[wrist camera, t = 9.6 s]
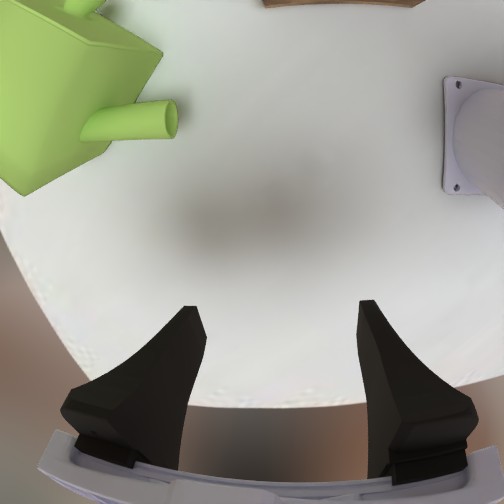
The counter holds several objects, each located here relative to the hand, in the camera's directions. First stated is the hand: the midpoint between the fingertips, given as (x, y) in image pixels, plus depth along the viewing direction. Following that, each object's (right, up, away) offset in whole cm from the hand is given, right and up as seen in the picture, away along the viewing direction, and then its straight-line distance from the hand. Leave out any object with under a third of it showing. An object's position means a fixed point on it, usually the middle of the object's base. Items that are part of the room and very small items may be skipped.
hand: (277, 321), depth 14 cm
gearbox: (-12, +16, +4) cm, 20 cm away
